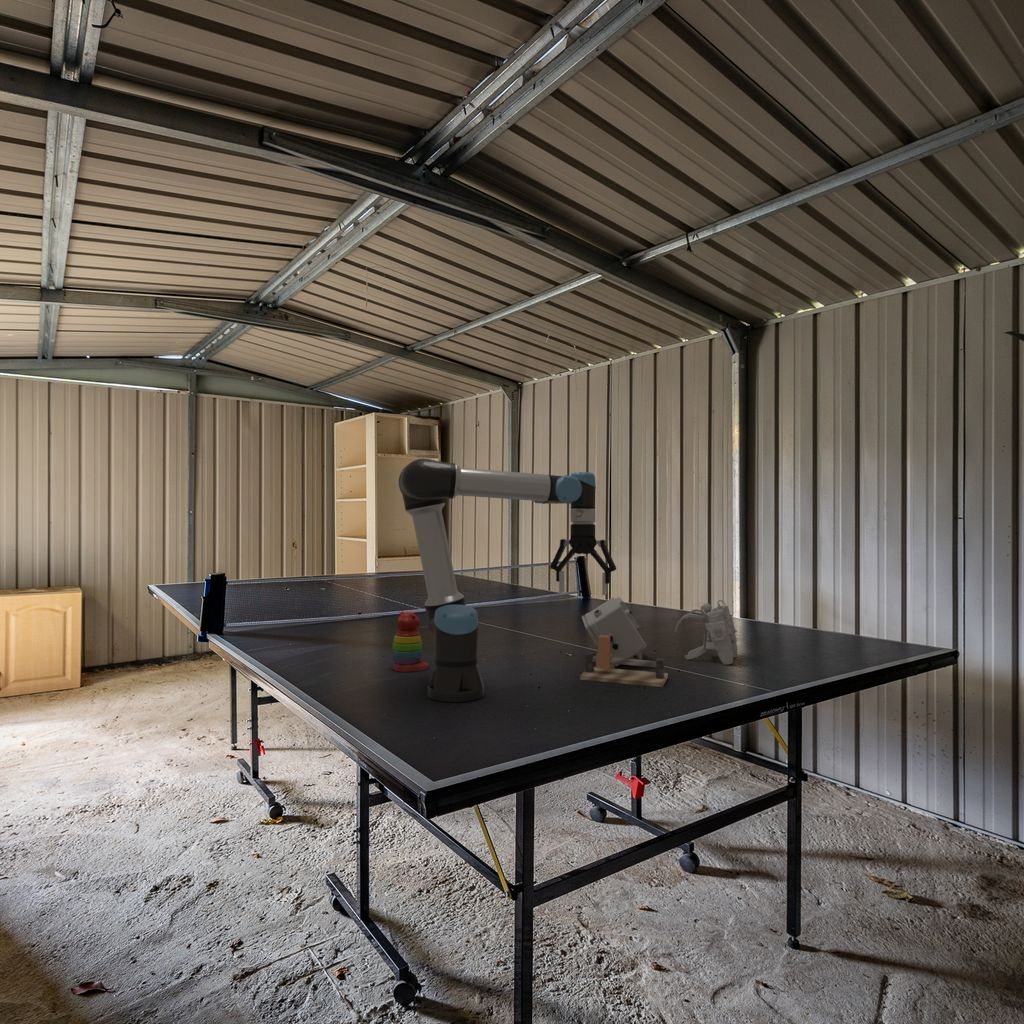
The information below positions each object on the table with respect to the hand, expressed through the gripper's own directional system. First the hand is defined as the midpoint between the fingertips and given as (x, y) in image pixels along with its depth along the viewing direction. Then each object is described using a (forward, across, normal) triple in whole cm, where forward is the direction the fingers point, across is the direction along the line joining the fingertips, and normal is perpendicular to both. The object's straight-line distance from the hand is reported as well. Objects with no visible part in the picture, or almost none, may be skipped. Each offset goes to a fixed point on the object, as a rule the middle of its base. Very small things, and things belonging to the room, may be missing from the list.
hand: (582, 593), depth 199 cm
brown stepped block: (+22, +7, 0) cm, 23 cm away
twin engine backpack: (+25, +33, +37) cm, 55 cm away
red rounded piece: (+25, -53, -12) cm, 60 cm away
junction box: (+25, +4, +21) cm, 33 cm away
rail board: (+25, +13, 0) cm, 28 cm away
